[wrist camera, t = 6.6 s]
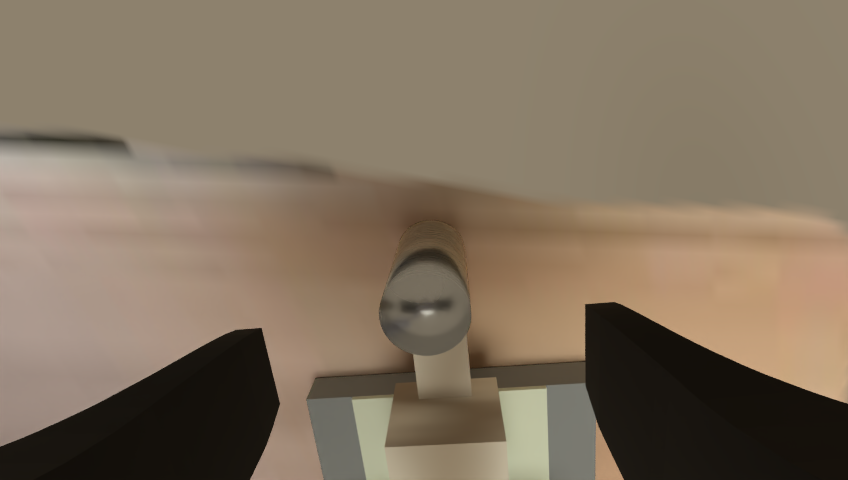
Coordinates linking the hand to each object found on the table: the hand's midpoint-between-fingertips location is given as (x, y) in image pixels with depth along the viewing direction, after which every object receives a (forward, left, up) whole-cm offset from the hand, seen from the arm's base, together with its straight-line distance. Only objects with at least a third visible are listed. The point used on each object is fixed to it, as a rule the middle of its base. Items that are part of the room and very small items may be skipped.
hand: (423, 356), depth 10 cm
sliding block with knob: (0, -4, -7) cm, 8 cm away
